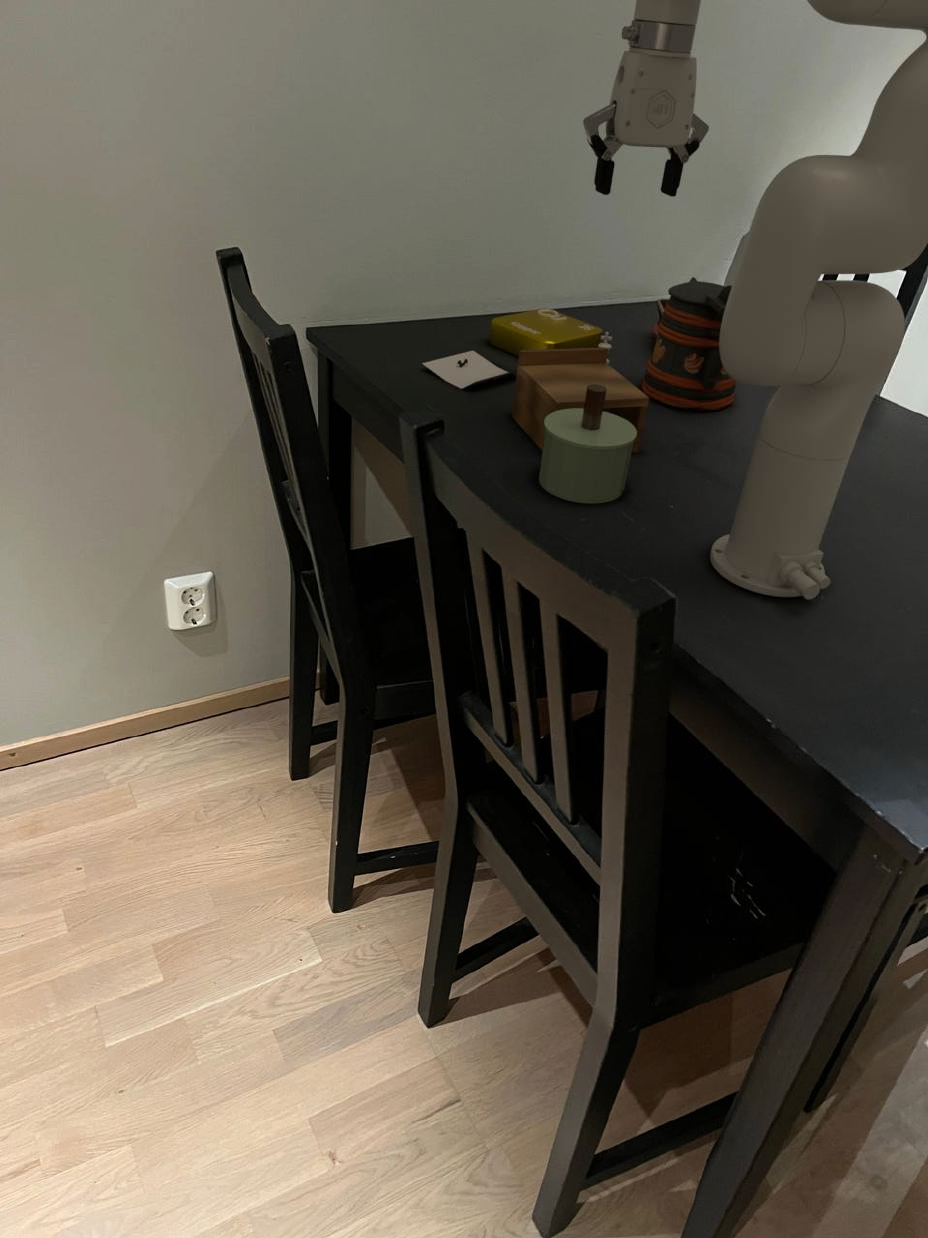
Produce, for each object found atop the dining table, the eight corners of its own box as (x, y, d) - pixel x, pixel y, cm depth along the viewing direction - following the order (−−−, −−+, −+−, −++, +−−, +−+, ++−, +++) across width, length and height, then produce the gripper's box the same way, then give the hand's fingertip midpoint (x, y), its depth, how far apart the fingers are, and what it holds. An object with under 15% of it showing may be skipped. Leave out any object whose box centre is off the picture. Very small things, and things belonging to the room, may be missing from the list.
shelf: (638, 452, 128) (652, 383, 122) (549, 458, 124) (559, 387, 118) (595, 412, 139) (606, 347, 133) (511, 416, 135) (519, 349, 129)
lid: (651, 451, 112) (661, 403, 109) (565, 457, 109) (572, 408, 105) (610, 414, 121) (618, 368, 117) (529, 418, 117) (535, 372, 114)
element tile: (484, 343, 162) (486, 315, 159) (542, 330, 171) (546, 304, 168) (545, 369, 153) (549, 340, 150) (603, 354, 162) (608, 327, 159)
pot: (638, 499, 116) (649, 445, 112) (558, 506, 113) (567, 451, 108) (601, 462, 124) (610, 410, 120) (526, 467, 121) (532, 414, 117)
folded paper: (472, 356, 155) (473, 345, 154) (525, 378, 149) (527, 367, 148) (420, 370, 148) (421, 358, 147) (473, 394, 141) (474, 381, 140)
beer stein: (760, 424, 140) (797, 291, 129) (671, 424, 137) (701, 288, 126) (710, 379, 155) (740, 256, 144) (629, 378, 153) (652, 253, 141)
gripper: (610, 37, 106) (587, 198, 115) (739, 48, 111) (707, 201, 120) (584, 32, 111) (564, 186, 121) (707, 43, 116) (679, 189, 126)
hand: (635, 193), depth 121 cm, fingers open, 9 cm apart
